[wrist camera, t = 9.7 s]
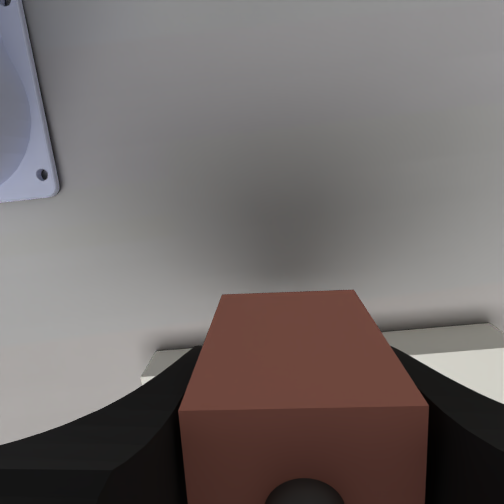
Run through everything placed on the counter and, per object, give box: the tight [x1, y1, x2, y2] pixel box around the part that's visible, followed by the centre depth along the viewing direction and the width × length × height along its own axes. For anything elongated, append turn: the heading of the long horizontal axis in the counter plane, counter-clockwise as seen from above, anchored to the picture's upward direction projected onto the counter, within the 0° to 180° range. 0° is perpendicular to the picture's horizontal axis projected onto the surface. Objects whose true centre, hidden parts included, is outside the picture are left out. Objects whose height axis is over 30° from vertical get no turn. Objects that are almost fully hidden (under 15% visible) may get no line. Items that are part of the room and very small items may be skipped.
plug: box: [178, 290, 429, 504], centre depth 9 cm, size 4×4×7 cm
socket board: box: [141, 323, 504, 404], centre depth 20 cm, size 16×16×3 cm
